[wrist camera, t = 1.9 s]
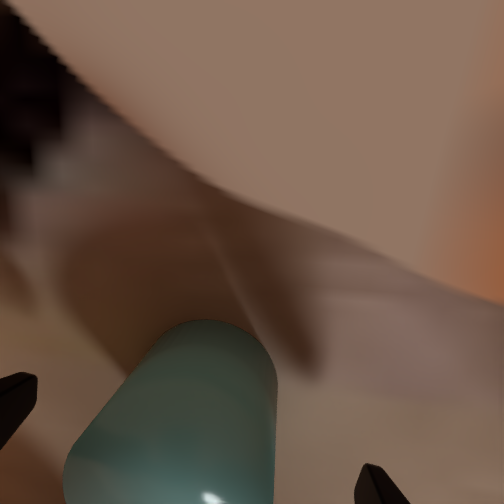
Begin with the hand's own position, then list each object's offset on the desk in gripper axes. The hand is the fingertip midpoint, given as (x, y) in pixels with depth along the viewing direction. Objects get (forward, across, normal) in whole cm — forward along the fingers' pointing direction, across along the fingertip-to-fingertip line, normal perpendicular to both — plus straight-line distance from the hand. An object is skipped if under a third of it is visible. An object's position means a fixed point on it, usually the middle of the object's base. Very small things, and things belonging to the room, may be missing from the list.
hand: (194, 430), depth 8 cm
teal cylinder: (+2, 0, 0) cm, 2 cm away
